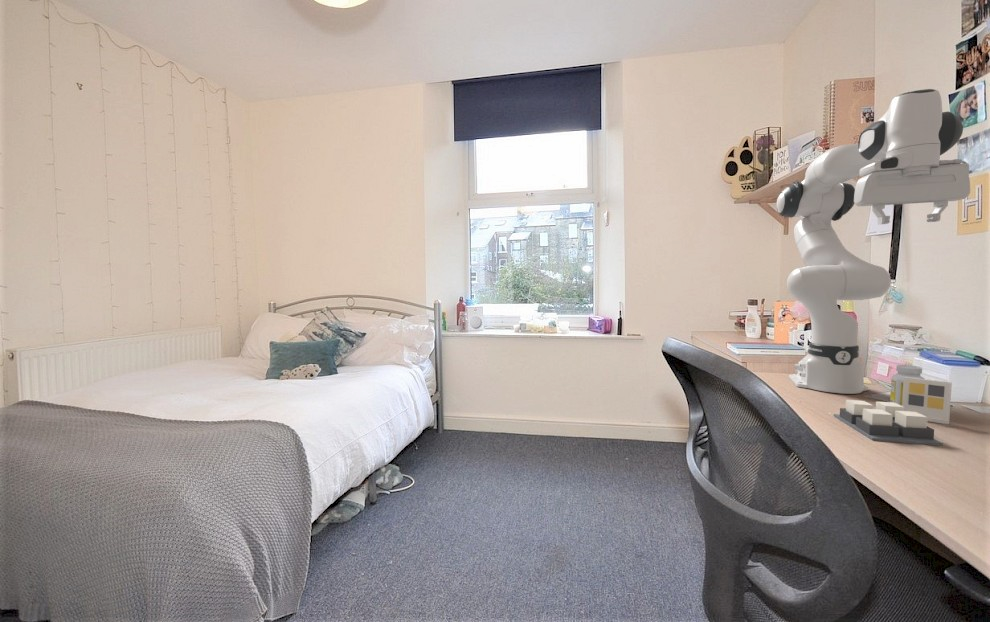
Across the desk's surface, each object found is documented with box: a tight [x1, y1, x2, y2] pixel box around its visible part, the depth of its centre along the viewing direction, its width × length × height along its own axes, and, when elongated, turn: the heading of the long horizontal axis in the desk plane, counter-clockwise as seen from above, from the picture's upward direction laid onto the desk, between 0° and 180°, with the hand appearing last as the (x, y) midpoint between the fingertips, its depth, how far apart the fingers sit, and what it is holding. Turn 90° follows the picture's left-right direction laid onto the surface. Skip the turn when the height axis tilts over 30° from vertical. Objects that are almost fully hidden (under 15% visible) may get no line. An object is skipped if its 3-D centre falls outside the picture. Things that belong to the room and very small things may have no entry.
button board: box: [833, 407, 944, 446], centre depth 93 cm, size 16×12×3 cm
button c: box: [845, 399, 874, 415], centre depth 97 cm, size 4×4×3 cm
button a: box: [875, 401, 905, 417], centre depth 95 cm, size 4×4×3 cm
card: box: [902, 377, 953, 425], centre depth 98 cm, size 2×8×10 cm, turn 44°
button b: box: [895, 411, 928, 429], centre depth 88 cm, size 4×4×3 cm
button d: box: [862, 408, 893, 426], centre depth 90 cm, size 4×4×3 cm
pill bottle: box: [889, 364, 925, 406], centre depth 106 cm, size 6×6×12 cm
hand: (908, 222), depth 94 cm, fingers open, 8 cm apart
